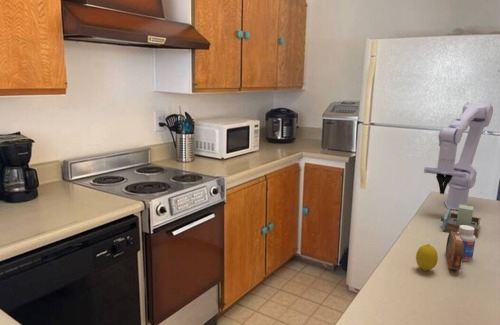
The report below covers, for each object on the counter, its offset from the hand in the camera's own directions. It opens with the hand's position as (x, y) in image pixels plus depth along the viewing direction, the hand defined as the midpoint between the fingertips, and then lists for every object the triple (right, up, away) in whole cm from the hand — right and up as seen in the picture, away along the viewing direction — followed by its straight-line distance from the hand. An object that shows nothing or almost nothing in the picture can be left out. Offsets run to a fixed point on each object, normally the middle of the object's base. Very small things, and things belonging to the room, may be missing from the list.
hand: (442, 193), depth 152 cm
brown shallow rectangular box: (+3, -12, -10) cm, 16 cm away
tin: (-15, -18, -37) cm, 43 cm away
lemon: (-25, -19, -41) cm, 52 cm away
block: (+2, -11, -11) cm, 16 cm away
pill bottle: (-10, -17, -33) cm, 38 cm away
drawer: (+1, -11, -9) cm, 15 cm away
